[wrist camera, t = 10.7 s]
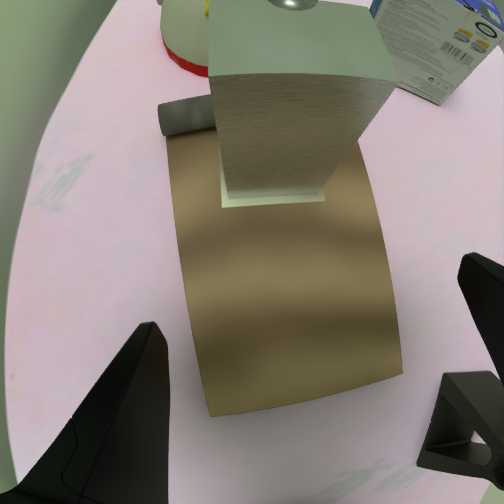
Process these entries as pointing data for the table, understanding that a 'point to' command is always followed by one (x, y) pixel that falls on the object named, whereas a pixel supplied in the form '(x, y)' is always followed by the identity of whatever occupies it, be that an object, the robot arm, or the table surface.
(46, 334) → the table surface
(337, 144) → the brushed steel block
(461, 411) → the phone stand
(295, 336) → the walnut base leaf
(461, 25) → the ink cartridge box
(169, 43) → the kitchen timer
